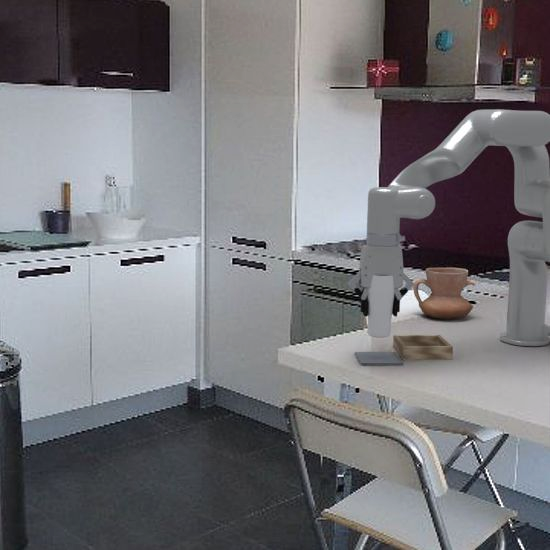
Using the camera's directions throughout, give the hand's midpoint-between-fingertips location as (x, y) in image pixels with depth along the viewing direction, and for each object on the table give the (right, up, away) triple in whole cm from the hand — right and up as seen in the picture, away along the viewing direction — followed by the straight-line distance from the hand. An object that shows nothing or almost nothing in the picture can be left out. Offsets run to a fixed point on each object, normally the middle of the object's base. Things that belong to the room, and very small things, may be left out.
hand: (379, 314), depth 201 cm
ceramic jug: (+25, -3, +49) cm, 55 cm away
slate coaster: (0, -11, +2) cm, 11 cm away
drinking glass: (0, -5, +1) cm, 5 cm away
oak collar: (+12, -10, +9) cm, 17 cm away
